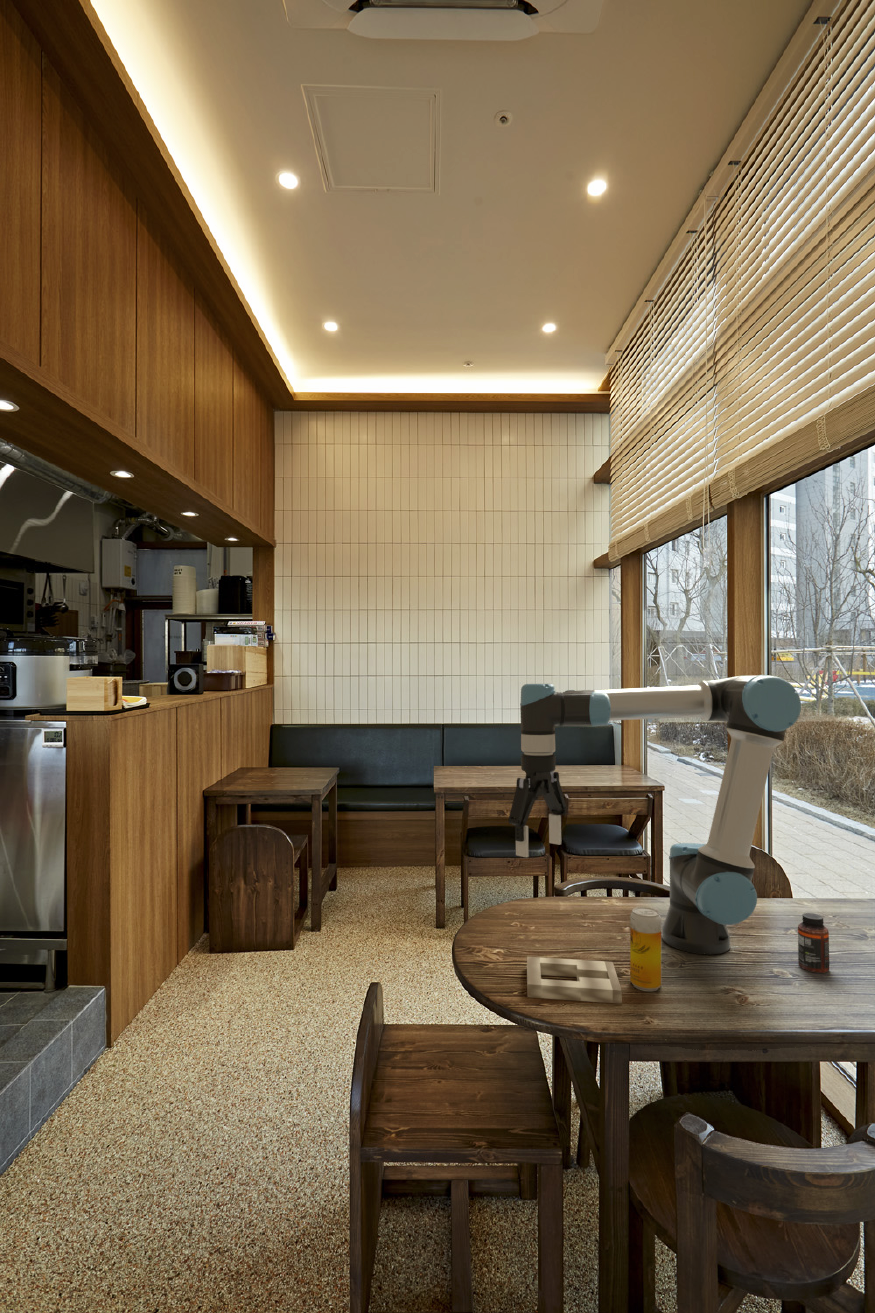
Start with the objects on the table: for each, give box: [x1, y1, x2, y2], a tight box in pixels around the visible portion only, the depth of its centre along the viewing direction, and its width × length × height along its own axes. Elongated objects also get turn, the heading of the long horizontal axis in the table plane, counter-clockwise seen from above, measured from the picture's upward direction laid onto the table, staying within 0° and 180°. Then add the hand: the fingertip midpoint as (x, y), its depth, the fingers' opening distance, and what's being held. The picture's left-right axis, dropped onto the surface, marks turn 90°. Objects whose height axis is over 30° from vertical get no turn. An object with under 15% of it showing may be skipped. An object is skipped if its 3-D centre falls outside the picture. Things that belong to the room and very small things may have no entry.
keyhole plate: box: [526, 956, 623, 1005], centre depth 136 cm, size 18×13×2 cm
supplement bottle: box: [797, 912, 830, 974], centre depth 145 cm, size 6×6×11 cm
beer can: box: [629, 906, 662, 992], centre depth 136 cm, size 6×6×15 cm
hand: (539, 849), depth 147 cm, fingers open, 13 cm apart
